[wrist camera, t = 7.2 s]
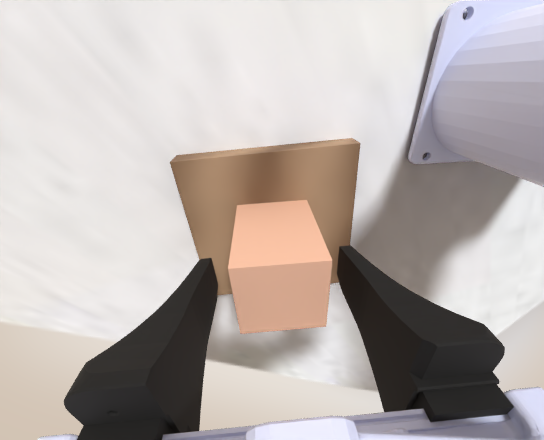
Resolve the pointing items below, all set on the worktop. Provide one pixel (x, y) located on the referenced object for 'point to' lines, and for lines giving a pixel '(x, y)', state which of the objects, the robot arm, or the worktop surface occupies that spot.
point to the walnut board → (267, 192)
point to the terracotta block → (279, 267)
